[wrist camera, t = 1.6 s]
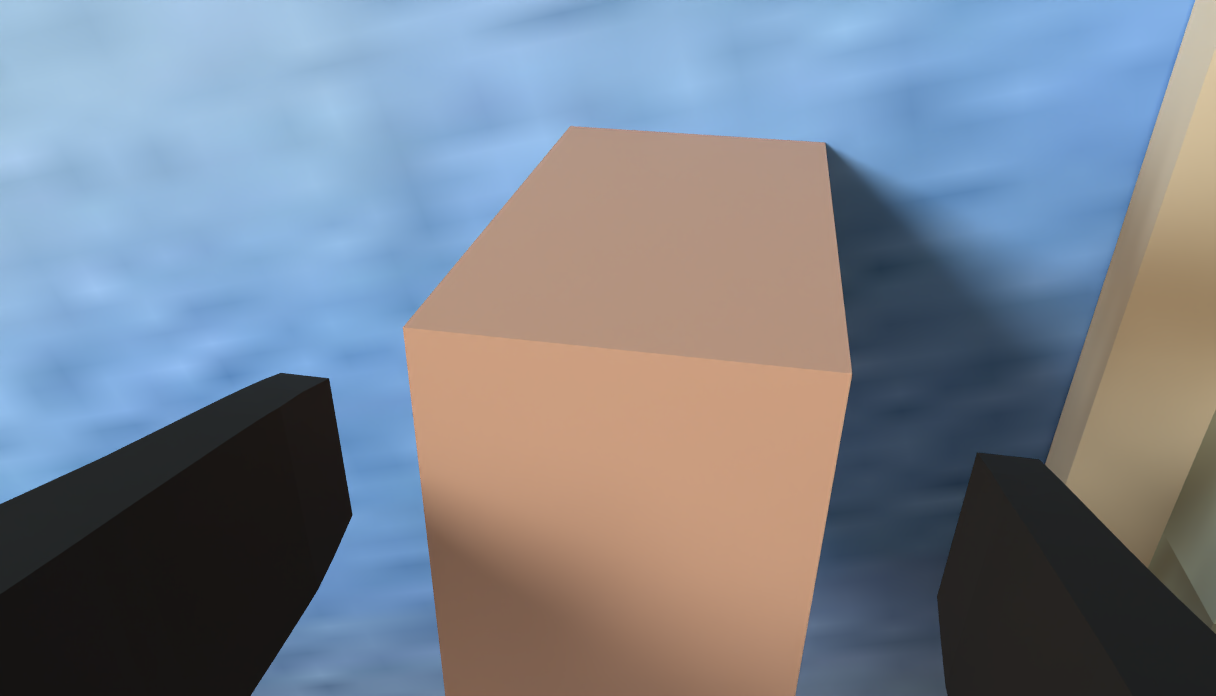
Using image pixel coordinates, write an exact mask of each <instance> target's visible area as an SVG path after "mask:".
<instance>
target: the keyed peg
mask: <svg viewBox="0 0 1216 696" xmlns="http://www.w3.org/2000/svg"><path fill="white" fill-rule="evenodd" d="M403 332H404V340H405V349H406V358H407V366H408V375H409V384H410V392H411V401H412V410H413V418H414V427H415V436H416V444H417V453H418V462H419V470H420V479H421V488H422V496H423V505H424V514H425V522H426V531H427V540H428V549H429V557H430V566H431V575H432V583H433V592H434V601H435V609H436V618H437V627H438V635H439V644H440V653H441V661H442V670H443V679H444V687H445V696H795V693H796V687H797V682H798V676H799V671H800V665H801V659H802V654H803V648H804V642H805V637H806V631H807V625H808V620H809V614H810V609H811V603H812V597H813V592H814V586H815V580H816V575H817V569H818V563H819V558H820V552H821V547H822V541H823V535H824V530H825V524H826V518H827V513H828V507H829V502H830V496H831V490H832V485H833V479H834V473H835V468H836V462H837V456H838V451H839V445H840V440H841V434H842V428H843V423H844V417H845V411H846V406H847V400H848V394H849V389H850V383H851V378H852V368H851V359H850V351H849V342H848V334H847V325H846V317H845V308H844V299H843V291H842V282H841V274H840V265H839V257H838V248H837V239H836V231H835V222H834V214H833V205H832V197H831V188H830V179H829V171H828V162H827V154H826V145H825V143H823V142H807V141H792V140H776V139H761V138H745V137H729V136H714V135H698V134H683V133H667V132H652V131H636V130H621V129H605V128H589V127H574V126H570V127H569V128H568V129H567V131H566V132H565V133H564V134H563V136H562V137H561V138H560V139H559V140H558V142H557V143H556V144H555V145H554V146H553V148H552V149H551V150H550V151H549V152H548V154H547V155H546V156H545V157H544V158H543V160H542V161H541V162H540V163H539V164H538V166H537V167H536V168H535V169H534V170H533V172H532V173H531V174H530V175H529V176H528V178H527V179H526V180H525V181H524V182H523V184H522V185H521V186H520V187H519V188H518V190H517V191H516V192H515V193H514V194H513V196H512V197H511V198H510V199H509V200H508V202H507V203H506V204H505V205H504V207H503V208H502V209H501V210H500V211H499V213H498V214H497V215H496V216H495V217H494V219H493V220H492V221H491V222H490V223H489V225H488V226H487V227H486V228H485V229H484V231H483V232H482V233H481V234H480V235H479V237H478V238H477V239H476V240H475V241H474V243H473V244H472V245H471V246H470V247H469V249H468V250H467V251H466V252H465V253H464V255H463V256H462V257H461V258H460V259H459V261H458V262H457V263H456V264H455V265H454V267H453V268H452V269H451V270H450V272H449V273H448V274H447V275H446V276H445V278H444V279H443V280H442V281H441V282H440V284H439V285H438V286H437V287H436V288H435V290H434V291H433V292H432V293H431V294H430V296H429V297H428V298H427V299H426V300H425V302H424V303H423V304H422V305H421V306H420V308H419V309H418V310H417V311H416V312H415V314H414V315H413V316H412V317H411V318H410V320H409V321H408V322H407V323H406V324H405V326H404V327H403Z"/></svg>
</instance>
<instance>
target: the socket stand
mask: <svg viewBox="0 0 1216 696" xmlns="http://www.w3.org/2000/svg"><path fill="white" fill-rule="evenodd" d="M1045 465H1046V466H1047V467H1048V468H1049V469H1050V470H1051V471H1052V472H1053V473H1054V474H1055V475H1056V476H1057V477H1058V478H1059V479H1060V480H1061V481H1062V482H1063V483H1064V484H1065V485H1066V486H1067V487H1068V488H1069V489H1070V490H1071V491H1072V492H1073V493H1074V494H1075V495H1076V496H1077V497H1078V498H1079V499H1080V500H1081V501H1082V502H1083V503H1084V504H1085V505H1086V506H1087V507H1088V508H1089V509H1090V510H1091V511H1092V512H1093V513H1094V514H1095V516H1096V517H1097V518H1098V519H1099V520H1100V521H1101V522H1102V523H1103V524H1104V525H1105V526H1106V527H1107V528H1108V529H1109V530H1110V531H1111V532H1112V533H1113V534H1114V535H1115V536H1116V537H1117V538H1118V539H1119V540H1120V541H1121V542H1122V543H1123V544H1124V545H1125V546H1126V547H1127V548H1128V549H1129V550H1130V551H1131V552H1132V553H1133V554H1134V555H1135V556H1136V557H1137V558H1138V559H1139V560H1140V561H1141V562H1142V563H1143V564H1144V565H1145V566H1146V567H1147V568H1148V569H1149V570H1150V571H1151V572H1152V573H1153V574H1154V575H1155V576H1156V577H1157V578H1158V579H1159V580H1160V581H1161V582H1162V583H1163V584H1164V585H1165V586H1166V587H1167V588H1168V589H1169V590H1170V591H1171V592H1172V593H1173V594H1174V595H1175V596H1176V597H1177V598H1178V599H1179V600H1181V601H1182V602H1183V603H1184V604H1185V605H1186V606H1187V607H1188V608H1189V609H1190V610H1191V611H1192V612H1193V613H1194V614H1195V615H1196V616H1197V617H1198V618H1199V619H1200V620H1202V621H1203V622H1204V623H1205V624H1206V625H1207V626H1208V627H1209V628H1210V629H1211V630H1212V631H1213V632H1214V633H1215V634H1216V0H1195V3H1194V6H1193V9H1192V13H1191V16H1190V19H1189V22H1188V25H1187V28H1186V31H1185V34H1184V37H1183V40H1182V43H1181V46H1180V50H1179V53H1178V56H1177V59H1176V62H1175V65H1174V68H1173V71H1172V74H1171V77H1170V80H1169V83H1168V87H1167V90H1166V93H1165V96H1164V99H1163V102H1162V105H1161V108H1160V111H1159V114H1158V117H1157V121H1156V124H1155V127H1154V130H1153V133H1152V136H1151V139H1150V142H1149V145H1148V148H1147V151H1146V154H1145V158H1144V161H1143V164H1142V167H1141V170H1140V173H1139V176H1138V179H1137V182H1136V185H1135V188H1134V191H1133V195H1132V198H1131V201H1130V204H1129V207H1128V210H1127V213H1126V216H1125V219H1124V222H1123V225H1122V229H1121V232H1120V235H1119V238H1118V241H1117V244H1116V247H1115V250H1114V253H1113V256H1112V259H1111V262H1110V266H1109V269H1108V272H1107V275H1106V278H1105V281H1104V284H1103V287H1102V290H1101V293H1100V296H1099V299H1098V303H1097V306H1096V309H1095V312H1094V315H1093V318H1092V321H1091V324H1090V327H1089V330H1088V333H1087V337H1086V340H1085V343H1084V346H1083V349H1082V352H1081V355H1080V358H1079V361H1078V364H1077V367H1076V370H1075V374H1074V377H1073V380H1072V383H1071V386H1070V389H1069V392H1068V395H1067V398H1066V401H1065V404H1064V407H1063V411H1062V414H1061V417H1060V420H1059V423H1058V426H1057V429H1056V432H1055V435H1054V438H1053V441H1052V445H1051V448H1050V451H1049V454H1048V457H1047V460H1046V463H1045Z"/></svg>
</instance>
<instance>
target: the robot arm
mask: <svg viewBox="0 0 1216 696" xmlns="http://www.w3.org/2000/svg"><path fill="white" fill-rule="evenodd" d="M351 517H352V510H351V504H350V498H349V492H348V486H347V481H346V475H345V469H344V463H343V457H342V451H341V446H340V440H339V434H338V428H337V422H336V416H335V411H334V405H333V399H332V393H331V387H330V381H329V378H321V377H312V376H303V375H294V374H286V373H279V374H277V375H274V376H272V377H269V378H266V379H264V380H261V381H259V382H257V383H254V384H252V385H250V386H248V387H246V388H243V389H241V390H239V391H237V392H235V393H233V394H231V395H229V396H226V397H224V398H222V399H220V400H218V401H216V402H214V403H212V404H210V405H208V406H206V407H204V408H202V409H200V410H198V411H196V412H194V413H192V414H190V415H188V416H186V417H184V418H182V419H180V420H178V421H176V422H174V423H172V424H170V425H168V426H166V427H164V428H161V429H159V430H157V431H155V432H153V433H151V434H149V435H147V436H145V437H143V438H141V439H139V440H137V441H135V442H133V443H131V444H129V445H127V446H125V447H123V448H121V449H119V450H117V451H115V452H113V453H111V454H109V455H107V456H105V457H103V458H100V459H98V460H96V461H94V462H92V463H90V464H87V465H85V466H83V467H81V468H79V469H76V470H74V471H72V472H70V473H68V474H66V475H63V476H61V477H59V478H57V479H55V480H52V481H50V482H48V483H46V484H44V485H41V486H39V487H37V488H35V489H33V490H30V491H28V492H26V493H24V494H22V495H20V496H17V497H15V498H13V499H11V500H9V501H6V502H4V503H2V504H0V696H251V694H252V693H253V691H254V689H255V688H256V686H257V685H258V683H259V682H260V680H261V679H262V677H263V676H264V674H265V672H266V671H267V669H268V668H269V666H270V665H271V663H272V662H273V660H274V659H275V657H276V655H277V654H278V652H279V651H280V649H281V648H282V646H283V645H284V643H285V641H286V640H287V638H288V637H289V635H290V633H291V632H292V630H293V629H294V627H295V626H296V624H297V622H298V621H299V619H300V618H301V616H302V615H303V613H304V611H305V610H306V608H307V607H308V605H309V603H310V602H311V600H312V598H313V597H314V595H315V594H316V592H317V590H318V589H319V586H320V584H321V582H322V580H323V578H324V576H325V574H326V572H327V570H328V568H329V566H330V564H331V562H332V560H333V558H334V556H335V553H336V551H337V549H338V547H339V544H340V542H341V540H342V537H343V535H344V533H345V531H346V528H347V526H348V524H349V522H350V519H351ZM937 599H938V611H939V623H940V635H941V647H942V656H943V665H944V675H945V684H946V690H947V694H948V696H1216V634H1215V633H1214V632H1213V631H1212V630H1211V629H1210V628H1209V627H1208V626H1207V625H1206V624H1205V623H1204V622H1203V621H1202V620H1200V619H1199V618H1198V617H1197V616H1196V615H1195V614H1194V613H1193V612H1192V611H1191V610H1190V609H1189V608H1188V607H1187V606H1186V605H1185V604H1184V603H1183V602H1182V601H1181V600H1179V599H1178V598H1177V597H1176V596H1175V595H1174V594H1173V593H1172V592H1171V591H1170V590H1169V589H1168V588H1167V587H1166V586H1165V585H1164V584H1163V583H1162V582H1161V581H1160V580H1159V579H1158V578H1157V577H1156V576H1155V575H1154V574H1153V573H1152V572H1151V571H1150V570H1149V569H1148V568H1147V567H1146V566H1145V565H1144V564H1143V563H1142V562H1141V561H1140V560H1139V559H1138V558H1137V557H1136V556H1135V555H1134V554H1133V553H1132V552H1131V551H1130V550H1129V549H1128V548H1127V547H1126V546H1125V545H1124V544H1123V543H1122V542H1121V541H1120V540H1119V539H1118V538H1117V537H1116V536H1115V535H1114V534H1113V533H1112V532H1111V531H1110V530H1109V529H1108V528H1107V527H1106V526H1105V525H1104V524H1103V523H1102V522H1101V521H1100V520H1099V519H1098V518H1097V517H1096V516H1095V514H1094V513H1093V512H1092V511H1091V510H1090V509H1089V508H1088V507H1087V506H1086V505H1085V504H1084V503H1083V502H1082V501H1081V500H1080V499H1079V498H1078V497H1077V496H1076V495H1075V494H1074V493H1073V492H1072V491H1071V490H1070V489H1069V488H1068V487H1067V486H1066V485H1065V484H1064V483H1063V482H1062V481H1061V480H1060V479H1059V478H1058V477H1057V476H1056V475H1055V474H1054V473H1053V472H1052V471H1051V470H1050V469H1049V468H1048V467H1047V466H1046V465H1045V464H1044V463H1043V462H1041V461H1040V460H1039V459H1030V458H1021V457H1012V456H1004V455H995V454H986V453H977V454H976V458H975V462H974V465H973V469H972V473H971V476H970V480H969V483H968V487H967V491H966V494H965V498H964V501H963V505H962V509H961V512H960V516H959V520H958V523H957V527H956V530H955V534H954V538H953V541H952V545H951V548H950V552H949V556H948V559H947V563H946V567H945V570H944V574H943V577H942V581H941V585H940V588H939V592H938V595H937Z"/></svg>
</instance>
